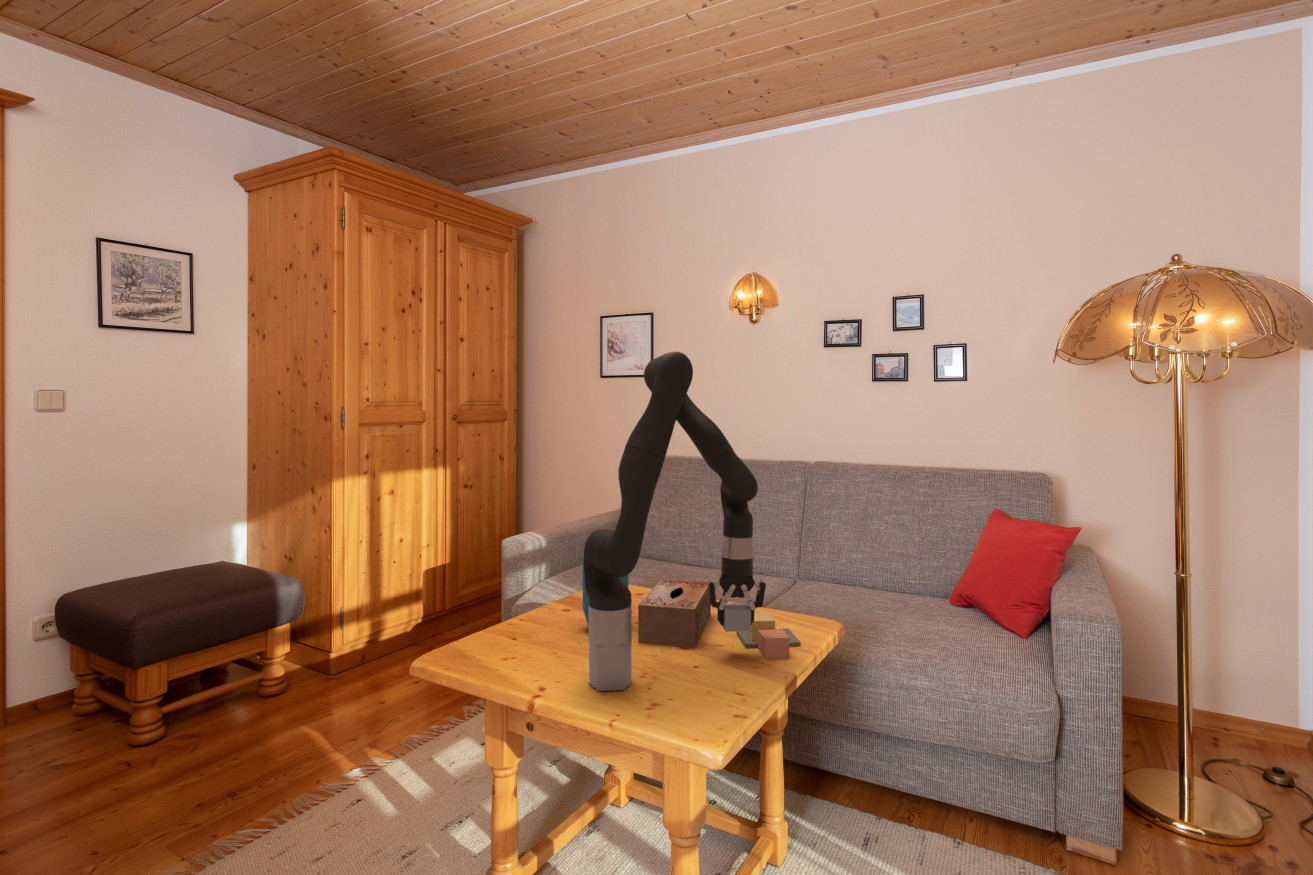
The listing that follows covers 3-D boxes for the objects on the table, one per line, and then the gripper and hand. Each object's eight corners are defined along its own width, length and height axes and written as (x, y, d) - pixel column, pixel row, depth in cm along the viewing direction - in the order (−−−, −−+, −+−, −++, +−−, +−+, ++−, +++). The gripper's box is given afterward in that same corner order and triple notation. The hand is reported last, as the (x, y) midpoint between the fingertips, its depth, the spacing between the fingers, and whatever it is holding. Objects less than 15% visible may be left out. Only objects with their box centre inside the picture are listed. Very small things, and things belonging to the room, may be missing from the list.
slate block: (750, 631, 160) (751, 610, 160) (725, 631, 160) (725, 610, 160) (745, 623, 166) (745, 603, 166) (720, 623, 166) (721, 603, 166)
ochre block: (774, 640, 171) (775, 620, 171) (751, 640, 171) (751, 621, 170) (768, 631, 177) (768, 612, 177) (745, 632, 177) (746, 613, 176)
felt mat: (800, 645, 170) (800, 641, 170) (745, 648, 169) (745, 644, 169) (788, 632, 180) (788, 628, 180) (736, 634, 179) (736, 630, 178)
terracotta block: (789, 658, 163) (789, 637, 162) (764, 659, 162) (764, 638, 162) (781, 648, 168) (781, 629, 168) (758, 649, 168) (758, 629, 167)
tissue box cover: (661, 612, 197) (661, 578, 197) (710, 616, 194) (710, 581, 193) (638, 643, 172) (638, 605, 172) (694, 648, 169) (694, 609, 168)
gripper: (710, 558, 158) (708, 629, 159) (770, 558, 159) (769, 629, 160) (704, 551, 165) (703, 619, 166) (763, 551, 167) (761, 619, 167)
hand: (735, 623), depth 163 cm, fingers closed on slate block, 6 cm apart
